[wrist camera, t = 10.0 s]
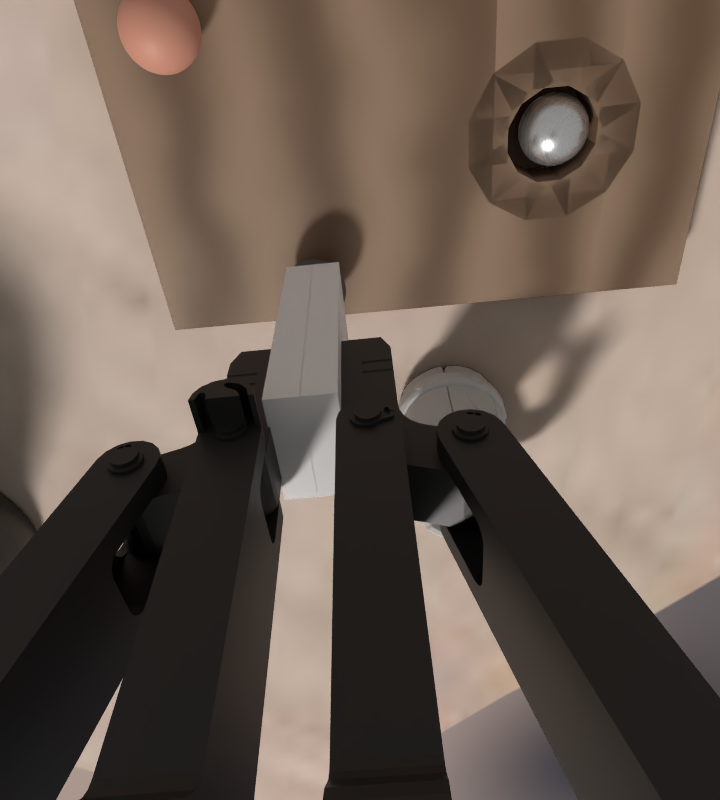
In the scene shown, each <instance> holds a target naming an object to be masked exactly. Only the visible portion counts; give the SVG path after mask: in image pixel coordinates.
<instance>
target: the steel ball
mask: <svg viewBox="0 0 720 800" xmlns="http://www.w3.org/2000/svg"><path fill="white" fill-rule="evenodd" d="M588 131H589V118H588V114H587V111H586V109H585V107H584V105H583V104H582V103H581V101H580V100H579V99H577V98H576V97H575V96H573V95H571V94H568V93H564V92H552V93H548V94H545V95H542V96H540V97H539V98H537V99H536V100H534V101H533V102H532V103H531V104H530V105H529V106H528V107H527V109H526V110H525V112H524V113H523V115H522V117H521V120H520V123H519V128H518V139H519V143H520V146H521V149H522V151H523V152H524V154H525V155H526V156H527V157H528V158H529V159H530V160H532V161H533V162H535V163H537V164H540V165H545V166H555V165H559V164H562V163H564V162H567V161H568V160H570V159H571V158H573V157H574V156H575V155H576V154H577V153H578V152H579V151H580V150H581V148H582V147H583V145H584V143H585V141H586V139H587V136H588Z"/></svg>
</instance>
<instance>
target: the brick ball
mask: <svg viewBox="0 0 720 800" xmlns="http://www.w3.org/2000/svg"><path fill="white" fill-rule="evenodd" d="M117 28H118V33H119V37H120V40H121V42H122V44H123V47H124V48H125V50H126V52H127V53H128V54H129V56H130V57H131V58H132V59H133V60H134V61H135V62H136V63H137V64H138V65H139V66H141V67H142V68H144V69H145V70H147V71H149V72H152V73H155V74H159V75H173V74H177V73H179V72H182V71H183V70H185V69H186V68H188V67H189V66H190V65H191V64H192V63H193V61H194V60H195V58H196V57H197V55H198V52H199V49H200V45H201V27H200V22H199V18H198V16H197V13H196V11H195V9H194V7H193V6H192V4H191V3H190V2H189V0H121V3H120V5H119V8H118V13H117Z"/></svg>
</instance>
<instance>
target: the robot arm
mask: <svg viewBox="0 0 720 800" xmlns="http://www.w3.org/2000/svg"><path fill="white" fill-rule="evenodd" d="M188 402H189V405H190V408H191V412H192V415H193V418H194V421H195V424H196V427H197V431H198V436H197V439H196V442H195V443H193V444H191V445H189V446H186V447H184V448H181V449H178V450H175V451H171V452H168V453H165V454H160V451H159V448H157V447H156V446H155V445H154V444H153V443H149V442H145V441H133V442H128V443H124V444H121V445H118V446H116V447H114V448H112V449H110V450H108V451H106V452H105V453H104V454H103V455H102V456H101V457H99V458H98V459H97V460H96V461H95V463H94V464H93V465H92V466H91V467H90V469H89V470H88V471H87V472H86V473H85V475H84V476H83V477H82V478H81V479H80V481H79V482H78V483H77V484H76V485H75V487H74V488H73V489H72V490H71V491H70V493H69V494H68V495H67V496H66V497H65V499H64V500H63V501H62V502H61V503H60V504H59V506H58V507H57V508H56V509H55V510H54V512H53V513H52V514H51V515H50V516H49V518H48V519H47V520H46V521H45V522H44V524H43V525H42V526H41V527H40V528H39V530H38V531H37V532H36V531H35V530H34V528H33V526H32V524H31V523H30V521H29V520H28V519H27V517H26V516H25V515H24V514H23V513H22V512H21V511H20V510H19V509H18V508H17V507H16V506H15V505H14V504H13V503H12V502H10V501H9V500H8V499H6V498H5V497H4V496H2V495H1V494H0V800H56V799H57V797H58V795H59V793H60V791H61V789H62V788H63V786H64V784H65V782H66V781H67V779H68V777H69V775H70V773H71V771H72V770H73V768H74V766H75V764H76V762H77V761H78V759H79V757H80V755H81V753H82V751H83V750H84V748H85V746H86V744H87V742H88V741H89V739H90V737H91V735H92V733H93V731H94V730H95V728H96V726H97V724H98V722H99V720H100V719H101V717H102V715H103V713H104V711H105V710H106V708H107V706H108V704H109V702H110V700H111V699H112V697H113V695H114V693H115V691H116V690H117V688H118V686H119V684H120V682H121V680H122V679H123V680H122V683H121V687H120V690H119V693H118V696H117V700H116V703H115V706H114V710H113V713H112V716H111V719H110V723H109V726H108V729H107V732H106V736H105V739H104V742H103V745H102V749H101V752H100V755H99V758H98V762H97V765H96V768H95V771H94V775H93V778H92V781H91V783H90V786H89V788H88V790H87V792H86V793H85V795H84V796H83V797H82V799H80V800H254V794H255V784H256V775H257V765H258V755H259V746H260V736H261V726H262V717H263V707H264V697H265V688H266V678H267V668H268V659H269V649H270V639H271V630H272V620H273V610H274V601H275V591H276V582H277V572H278V562H279V553H280V543H281V533H282V524H283V514H282V508H281V504H280V500H279V498H280V490H281V486H282V490H283V495H284V499H285V500H288V499H299V498H311V497H322V496H334V495H335V499H334V555H333V611H332V668H331V724H330V769H329V779H328V782H327V784H326V786H325V788H324V795H323V800H452V798H451V791H450V785H449V779H448V776H447V773H446V767H445V760H444V753H443V746H442V738H441V730H440V722H439V714H438V706H437V698H436V690H435V683H434V675H433V667H432V659H431V651H430V643H429V635H428V628H427V620H426V612H425V604H424V596H423V588H422V581H421V573H420V565H419V557H418V549H417V541H416V533H415V526H414V520H415V521H421V522H426V523H432V524H438V525H440V530H441V533H442V535H443V537H444V539H445V541H446V543H447V545H448V547H449V549H450V551H451V553H452V554H453V556H454V558H455V560H456V562H457V564H458V566H459V568H460V570H461V572H462V574H463V576H464V578H465V580H466V582H467V584H468V586H469V588H470V590H471V592H472V594H473V595H474V597H475V599H476V601H477V603H478V605H479V607H480V609H481V611H482V613H483V615H484V617H485V619H486V621H487V623H488V625H489V627H490V629H491V631H492V633H493V635H494V637H495V638H496V640H497V642H498V644H499V646H500V648H501V650H502V652H503V654H504V656H505V658H506V660H507V662H508V664H509V666H510V668H511V670H512V672H513V674H514V676H515V678H516V679H517V681H518V683H519V685H520V687H521V689H522V691H523V693H524V695H525V697H526V699H527V701H528V703H529V705H530V707H531V709H532V711H533V713H534V715H535V717H536V718H537V720H538V722H539V724H540V726H541V728H542V730H543V732H544V734H545V736H546V738H547V740H548V742H549V744H550V746H551V748H552V750H553V752H554V754H555V756H556V757H557V760H558V762H559V763H560V765H561V767H562V769H563V771H564V773H565V775H566V777H567V779H568V781H569V783H570V785H571V787H572V789H573V791H574V793H575V795H576V797H577V799H578V800H720V698H719V696H718V695H717V694H716V693H715V691H714V690H713V689H712V687H711V686H710V685H709V684H708V682H707V681H706V680H705V679H704V677H703V676H702V675H701V673H700V672H699V671H698V670H697V668H696V667H695V666H694V665H693V663H692V662H691V661H690V659H689V658H688V657H687V656H686V654H685V653H684V652H683V651H682V649H681V648H680V647H679V645H678V644H677V643H676V642H675V640H674V639H673V638H672V637H671V635H670V634H669V633H668V631H667V630H666V629H665V628H664V626H663V625H662V624H661V623H660V621H659V620H658V619H657V617H656V616H655V615H654V614H653V612H652V611H651V610H650V609H649V607H648V606H647V605H646V604H645V602H644V601H643V600H642V598H641V597H640V596H639V595H638V593H637V592H636V591H635V590H634V588H633V587H632V586H631V584H630V583H629V582H628V581H627V579H626V578H625V577H624V576H623V574H622V573H621V572H620V570H619V569H618V568H617V567H616V565H615V564H614V563H613V562H612V560H611V559H610V558H609V556H608V555H607V554H606V553H605V551H604V550H603V549H602V548H601V546H600V545H599V544H598V542H597V541H596V540H595V539H594V537H593V536H592V535H591V534H590V532H589V531H588V530H587V529H586V527H585V526H584V525H583V523H582V522H581V521H580V520H579V518H578V517H577V516H576V515H575V513H574V512H573V511H572V509H571V508H570V507H569V506H568V504H567V503H566V502H565V501H564V499H563V498H562V497H561V495H560V494H559V493H558V492H557V490H556V489H555V488H554V487H553V485H552V484H551V483H550V481H549V480H548V479H547V478H546V476H545V475H544V474H543V473H542V471H541V470H540V469H539V468H538V466H537V465H536V464H535V462H534V461H533V460H532V459H531V457H530V456H529V455H528V454H527V452H526V451H525V450H524V448H523V447H522V446H521V445H520V443H519V442H518V441H517V440H516V438H515V437H514V436H513V434H512V433H511V432H510V431H509V429H508V428H507V427H506V426H505V424H504V423H503V422H502V421H501V420H500V419H499V418H497V417H496V416H495V415H493V414H491V413H488V412H485V411H482V410H474V409H467V410H458V411H455V412H453V413H450V414H447V415H446V416H445V417H444V418H442V419H441V420H440V421H439V423H438V426H434V425H427V424H422V423H418V422H415V421H413V420H410V419H409V418H407V417H406V416H404V415H403V413H402V412H401V411H400V409H399V406H398V402H397V394H396V386H395V379H394V371H393V363H392V356H391V348H390V346H389V345H388V344H387V343H386V342H385V341H384V340H383V339H382V338H381V337H379V338H368V339H358V340H348V333H347V325H346V317H345V309H344V300H343V292H342V284H341V276H340V267H339V262H334V263H324V264H314V265H304V266H294V267H286V273H285V278H284V283H283V289H282V294H281V299H280V305H279V310H278V315H277V321H276V326H275V331H274V337H273V342H272V347H271V349H268V350H258V351H247V352H241V353H240V354H239V355H238V356H237V357H236V358H235V360H234V361H233V362H232V363H231V364H230V367H229V371H228V374H227V378H226V379H224V380H219V381H214V382H212V383H209V384H207V385H204V386H202V387H201V388H199V389H198V390H197V391H195V392H194V393H193V394H192V395H191V397H190V398H189V400H188ZM122 543H124V544H123V545H122ZM121 545H122V547H121V548H120V546H121ZM119 548H120V550H119V551H118V549H119ZM117 551H118V552H117Z"/></svg>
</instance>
